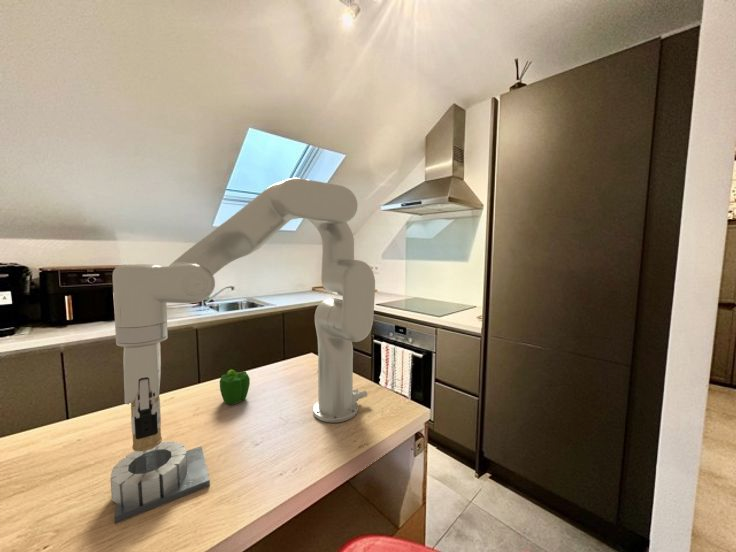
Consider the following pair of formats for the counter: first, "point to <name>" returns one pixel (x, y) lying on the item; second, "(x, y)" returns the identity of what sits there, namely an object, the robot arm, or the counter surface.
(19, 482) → the counter surface
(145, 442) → the sprinkles bottle
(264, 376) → the counter surface
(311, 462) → the counter surface
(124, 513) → the collar block
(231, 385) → the bell pepper
